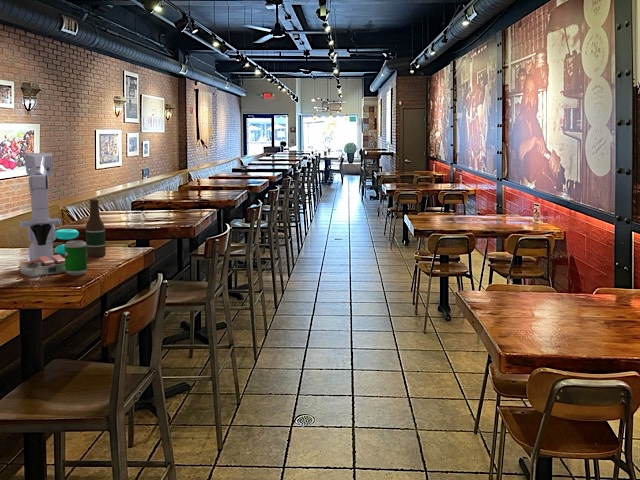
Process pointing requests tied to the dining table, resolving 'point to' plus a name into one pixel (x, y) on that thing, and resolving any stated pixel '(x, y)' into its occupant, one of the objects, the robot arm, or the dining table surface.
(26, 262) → the rocker
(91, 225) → the beer bottle
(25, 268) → the console
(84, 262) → the soda can
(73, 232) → the donuts
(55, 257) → the rocker
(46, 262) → the rocker
